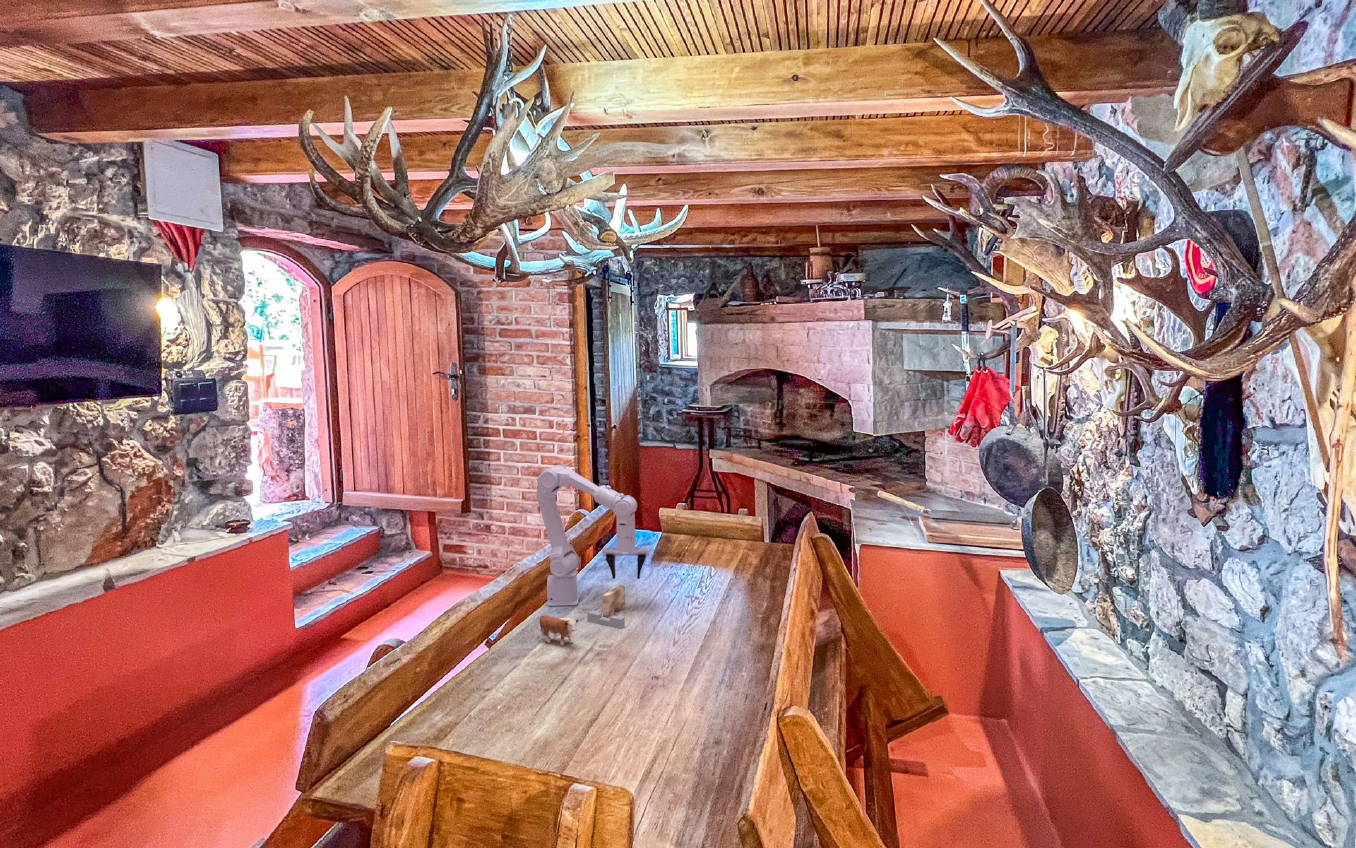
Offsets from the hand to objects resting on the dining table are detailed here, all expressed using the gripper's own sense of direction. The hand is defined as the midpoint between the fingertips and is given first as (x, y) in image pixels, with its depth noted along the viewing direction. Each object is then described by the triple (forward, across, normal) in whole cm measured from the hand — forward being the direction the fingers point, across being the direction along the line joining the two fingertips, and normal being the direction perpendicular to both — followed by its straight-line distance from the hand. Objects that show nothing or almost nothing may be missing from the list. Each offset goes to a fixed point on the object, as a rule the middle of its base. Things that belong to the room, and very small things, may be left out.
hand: (626, 577), depth 236 cm
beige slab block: (+10, -4, -4) cm, 11 cm away
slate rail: (+10, -5, -13) cm, 17 cm away
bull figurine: (+10, -16, -26) cm, 33 cm away
